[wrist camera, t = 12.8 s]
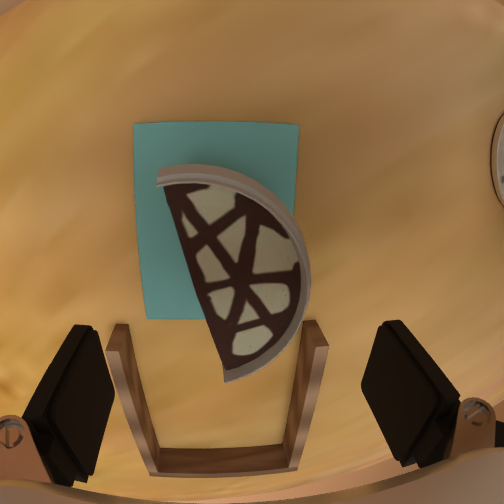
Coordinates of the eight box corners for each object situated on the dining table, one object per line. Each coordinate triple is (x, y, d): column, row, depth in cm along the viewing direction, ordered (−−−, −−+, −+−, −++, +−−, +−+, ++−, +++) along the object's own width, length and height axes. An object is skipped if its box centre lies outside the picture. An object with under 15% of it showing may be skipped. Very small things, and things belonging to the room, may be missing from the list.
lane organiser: (116, 323, 27) (105, 350, 23) (315, 320, 29) (329, 345, 25) (152, 452, 34) (150, 476, 30) (290, 447, 36) (296, 470, 33)
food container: (291, 285, 26) (330, 362, 17) (220, 303, 26) (227, 389, 17) (260, 135, 22) (296, 137, 13) (177, 156, 22) (151, 173, 12)
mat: (135, 124, 21) (133, 123, 20) (296, 125, 22) (298, 124, 22) (147, 315, 27) (146, 319, 26) (283, 313, 28) (284, 316, 28)
